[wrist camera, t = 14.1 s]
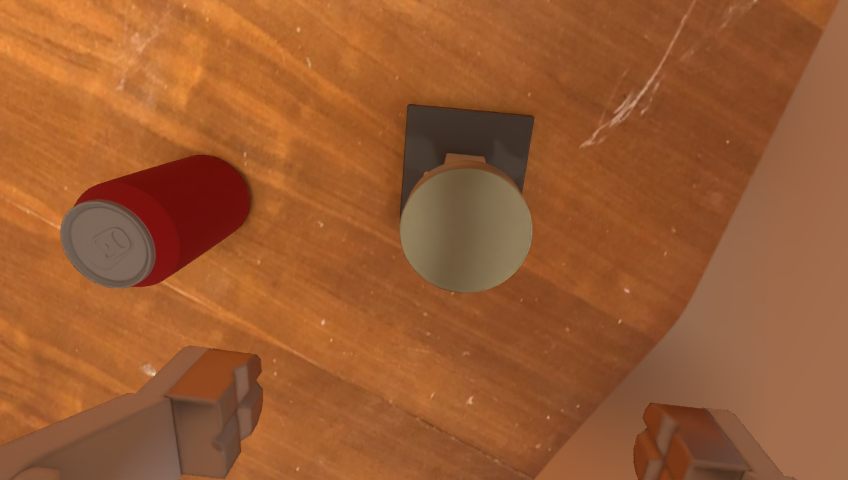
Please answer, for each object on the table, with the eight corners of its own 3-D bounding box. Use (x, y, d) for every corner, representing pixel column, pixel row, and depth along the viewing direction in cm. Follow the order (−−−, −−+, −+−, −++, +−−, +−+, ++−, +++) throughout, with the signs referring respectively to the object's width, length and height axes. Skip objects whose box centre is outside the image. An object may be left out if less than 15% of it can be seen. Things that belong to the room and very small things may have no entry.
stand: (532, 115, 33) (573, 140, 20) (513, 231, 36) (539, 313, 24) (409, 103, 33) (377, 121, 21) (401, 219, 36) (369, 294, 24)
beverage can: (157, 175, 37) (23, 220, 26) (223, 138, 35) (111, 167, 24) (206, 245, 39) (100, 315, 27) (270, 212, 37) (186, 273, 26)
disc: (536, 165, 21) (543, 174, 19) (517, 281, 23) (521, 300, 21) (408, 154, 21) (403, 161, 19) (401, 269, 23) (395, 286, 22)
